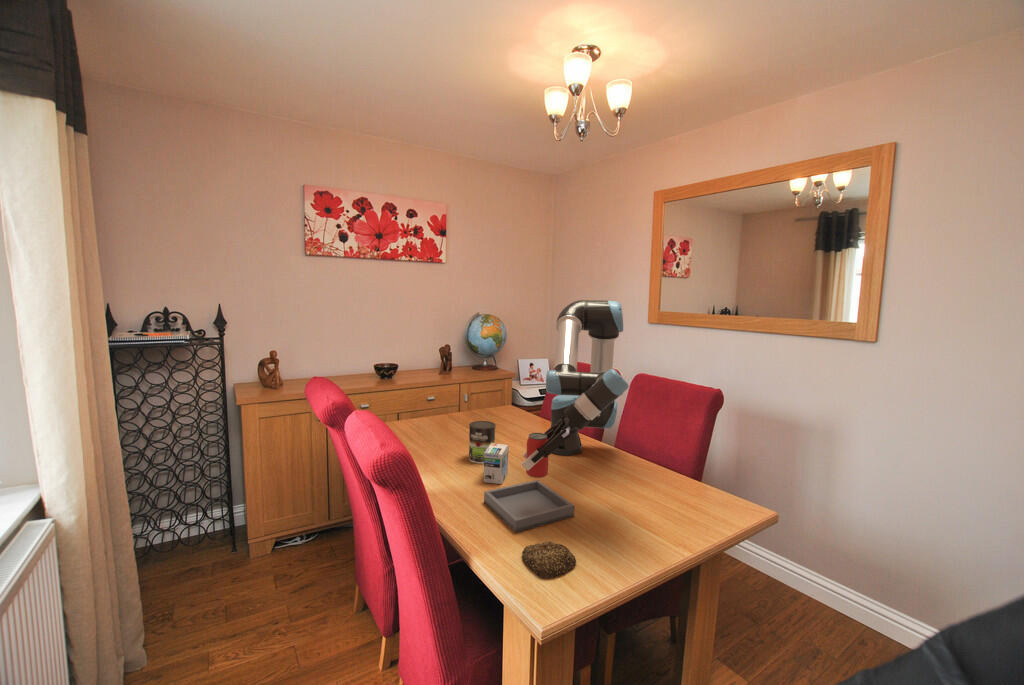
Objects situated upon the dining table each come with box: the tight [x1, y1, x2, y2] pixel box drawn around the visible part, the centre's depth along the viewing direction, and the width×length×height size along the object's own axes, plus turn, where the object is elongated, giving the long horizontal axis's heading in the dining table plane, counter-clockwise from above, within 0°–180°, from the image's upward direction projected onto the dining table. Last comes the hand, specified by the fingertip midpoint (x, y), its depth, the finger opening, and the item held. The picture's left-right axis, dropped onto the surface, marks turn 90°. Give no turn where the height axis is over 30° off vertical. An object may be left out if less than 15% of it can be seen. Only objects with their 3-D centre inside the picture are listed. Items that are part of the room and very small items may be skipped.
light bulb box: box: [483, 442, 509, 485], centre depth 158 cm, size 11×7×11 cm, turn 168°
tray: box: [483, 479, 575, 534], centre depth 136 cm, size 20×20×4 cm
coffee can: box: [468, 420, 496, 465], centre depth 175 cm, size 10×10×14 cm
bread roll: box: [521, 540, 577, 579], centre depth 110 cm, size 13×12×5 cm
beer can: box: [525, 432, 549, 479], centre depth 134 cm, size 7×7×12 cm
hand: (525, 462), depth 134 cm, fingers closed on beer can, 6 cm apart
